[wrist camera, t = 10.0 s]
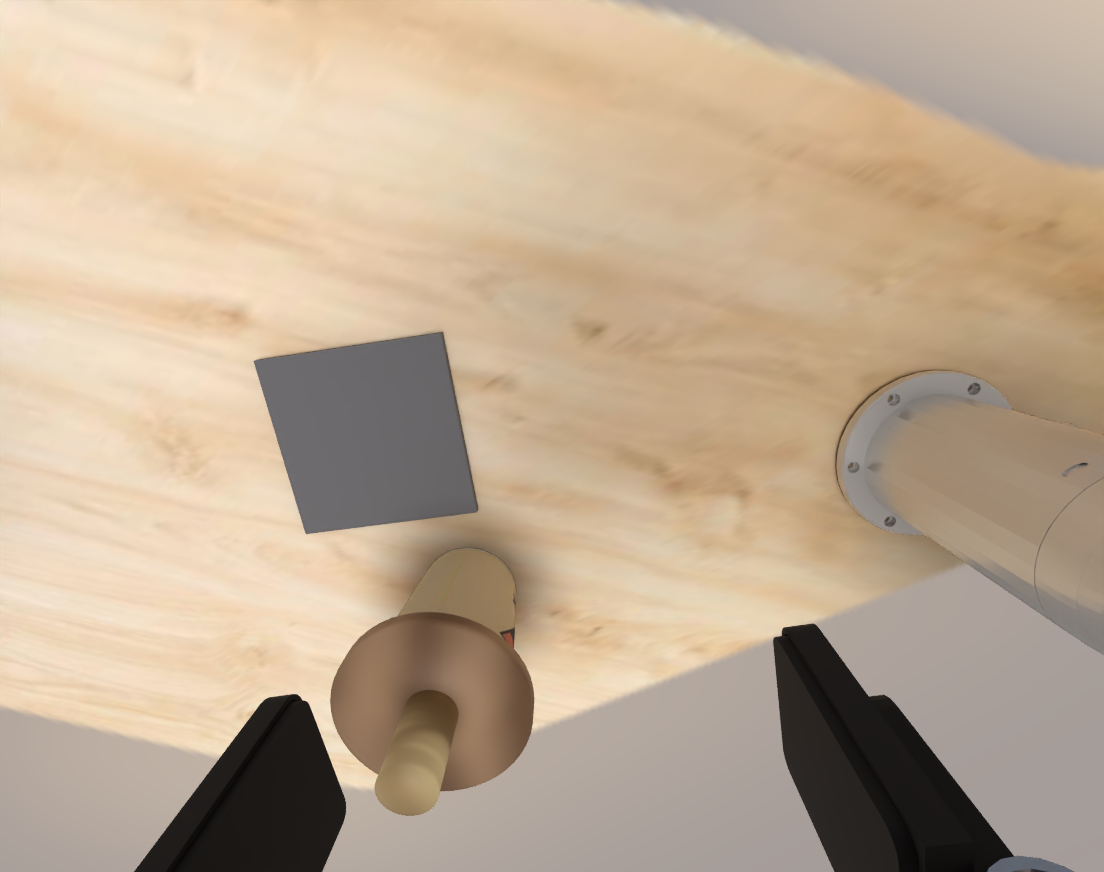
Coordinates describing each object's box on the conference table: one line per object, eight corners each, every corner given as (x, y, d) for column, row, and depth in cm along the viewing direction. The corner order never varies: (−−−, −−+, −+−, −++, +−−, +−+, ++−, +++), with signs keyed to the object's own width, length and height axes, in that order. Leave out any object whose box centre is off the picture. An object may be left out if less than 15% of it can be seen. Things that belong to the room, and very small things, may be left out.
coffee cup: (496, 653, 45) (473, 778, 34) (397, 608, 44) (337, 722, 33) (545, 568, 43) (537, 671, 31) (441, 519, 42) (394, 607, 30)
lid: (516, 600, 30) (504, 678, 24) (547, 764, 33) (543, 869, 27) (316, 623, 31) (256, 705, 25) (365, 781, 34) (322, 887, 28)
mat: (442, 332, 38) (440, 332, 37) (478, 509, 41) (476, 512, 41) (258, 359, 39) (253, 361, 38) (309, 530, 42) (305, 534, 42)
